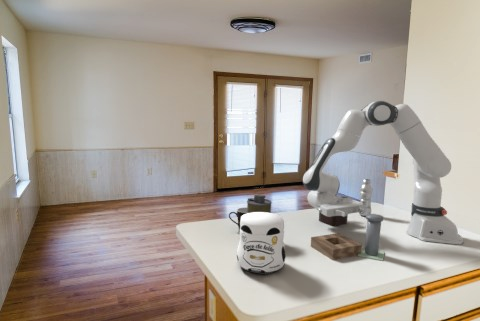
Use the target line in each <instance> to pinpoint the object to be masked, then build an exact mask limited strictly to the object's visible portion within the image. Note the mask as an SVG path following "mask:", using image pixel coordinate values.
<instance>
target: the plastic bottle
mask: <svg viewBox="0 0 480 321" xmlns="http://www.w3.org/2000/svg"><path fill="white" fill-rule="evenodd" d="M362 180H363V181H362V185H361V186H360V188H359V196H360V197H359V199H360V201H359V202H361V203H363V205H364V210H365V212H364V214H360V213H359V212H358V215H360V216H363V217H366V214H372V202H371V201H372V196H373V190H374V189H373V186H372V185H371V184H372V183H371V181H372V180H371V179H369V178H365V179H362Z"/></svg>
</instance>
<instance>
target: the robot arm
mask: <svg viewBox="0 0 480 321" xmlns="http://www.w3.org/2000/svg"><path fill="white" fill-rule="evenodd" d="M385 125H390V126H391V127H392V128H393V129H394V132H395V133H396V135H397V136H398V138H399V140H400V141H401V143H402V145H403V146H404V148H405V149H406V150H407V151H408V153H409V154H410V156H411V157H412V165H413V182H414V188H413V189H414V190H413V191H414V192H413V200H412V204H411V209H410V221H409V225H408V227H407V229H406V233H407V234H408V235H410V236H411V237H415V238H417V239H419V240H421V241H423V242H432V243H440V244H448V245H449V244H450V245H451V244H452V245H462V244H464V238H463V237H462V235H460V234H459V232H458V227H457V225H456V224H455V223H454V222H453V221H452V220H451V219H449V218H448V217H447V216H446V215H447V214H448V211H447V210H446V209H445V208H444V206H441V204H442V203H441V202H442V196H443V194H442V192H443V188H442V184H441V179H442V178H444V177H446V176H447V175H449V174H450V172H451V170H452V163H451V161H450V159H449V158H448V157H447V156H446V155H445V153H444V151H442V150H443V149H441V148H440V146H439V145H438V144H437V143H436V142H435V140H434V139H433V138H432V137H431V135H430V134H429V132H428V130H427V129H426V127H425V126H424V124H423V122H422V121H421V120H420V118H419V116H418V115H417V113H416V112H415V111H414V110H413V109H412V107H411V106H410V105H408V104H406V103H400V104H396V105H393V104H391V103H390V102H387V101H385V100H377V101H373V102H370V103H369V104H367V105H365V106H364V107H363V108H362V109H361V110H359V109H355V108H353V109H352V108H351V109H349V110H348V111H346V112H345V115H344V116H343V118H342V119H341V120H340V123H339V125H338V127H337V129H336V132H335V133H334V134H333V135H332V136H331V137H330V138H327V139H326V140H325V142H323V144H322V146H321V147H320V148H319V151H318V152H317V154H316V155H315V158H314V159H313V160H312V162H311V164H310V166H309V167H308V168H307V170H305V172H304V173H303V176H302V180H301V181H302V184H303V186H304V188H305V189H306V190H307V191H309V192H308V194H307V198H306V199H307V202H308V204H309V205H310V206H311V207H312V208H315V210H317V211H318V212H319V211H320V213H321V214H323V215H325V216H328V217H331V216H343V217H345V216H347V214H348V215H351V214H357V213H358V214H359V213H360V214H364V212H365V210H364V205H363V203H361V202H360V201H358V200H356V199H351V197H349V196H340V195H339V196H338V195H337V194H339V190H340V188H341V186H340V185H341V184H340V179H339V178H338V176H337V175H335V174H331V173H327V172H324V171H323V169H324V168H325V166H326V164H327V163H328V161H329V160H330V158H331V157H332V156H333V155H336V154H338V153H346V152H349V151H352V150H354V149H355V148H356V147H357V145H358V144H359V141H360V139H361V137H362V135H363V132H364V130H365V129H366V128H367V127H368V126H375V127H379V126H385ZM360 214H359V215H360Z"/></svg>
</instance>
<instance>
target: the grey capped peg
mask: <svg viewBox="0 0 480 321" xmlns="http://www.w3.org/2000/svg"><path fill="white" fill-rule="evenodd" d="M365 219H366V231H365V232H366V234H365V246H364V248H365V253H366V254H367V255H371V256H377V255H378V251H380V250H379V248H380V238H381V227H382V222H384V216H383V215H381V214H377V213H371V214H366V216H365Z"/></svg>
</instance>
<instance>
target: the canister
mask: <svg viewBox="0 0 480 321" xmlns="http://www.w3.org/2000/svg"><path fill="white" fill-rule="evenodd" d="M266 197H267V196H266V195H263V194H261V193H259V194H254V198H253V197H250V198H247V201H246V204H247V207H246V208H247V213H252V212H268V213H272V203H273V202H272V201H271V199H267V198H266Z"/></svg>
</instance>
